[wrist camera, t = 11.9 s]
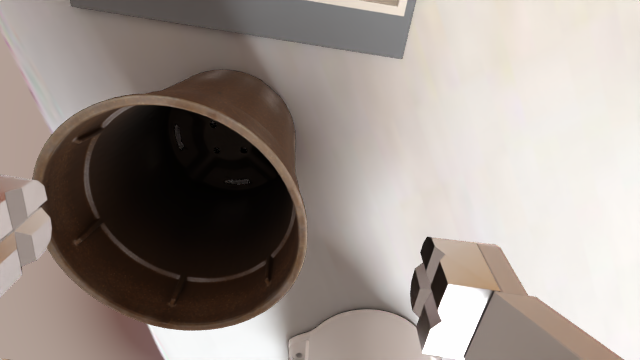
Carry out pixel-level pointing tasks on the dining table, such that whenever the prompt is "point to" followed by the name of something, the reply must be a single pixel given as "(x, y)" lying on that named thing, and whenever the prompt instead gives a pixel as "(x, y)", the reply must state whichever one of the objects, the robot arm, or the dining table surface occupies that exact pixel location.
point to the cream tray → (371, 5)
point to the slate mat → (278, 21)
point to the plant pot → (178, 202)
